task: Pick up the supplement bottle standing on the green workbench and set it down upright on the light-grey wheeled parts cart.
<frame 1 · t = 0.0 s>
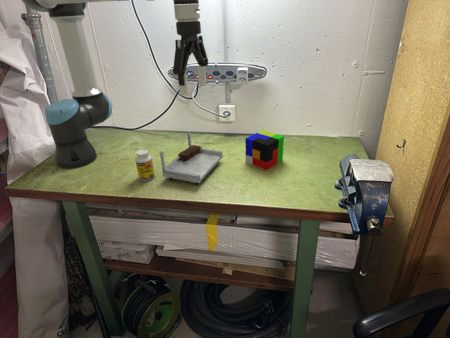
hand: (194, 90, 103), 28 cm above the table, fingers open, 13 cm apart
brick: (191, 160, 117), resting on cart
puzzle toy: (264, 162, 115), on the table
supplement bottle: (147, 178, 108), on the table
cart: (194, 170, 111), on the table
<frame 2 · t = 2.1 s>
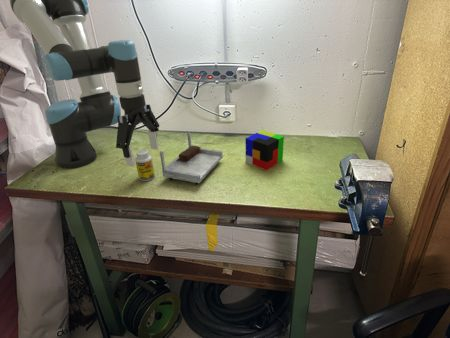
hand: (143, 156, 103), 9 cm above the table, fingers open, 13 cm apart
nothing on the table moved.
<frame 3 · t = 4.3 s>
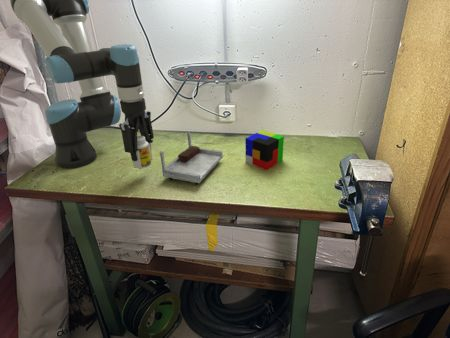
hand: (143, 163, 105), 5 cm above the table, fingers closed on supplement bottle, 6 cm apart
supplement bottle: (143, 165, 106), point 5 cm above the table, touching gripper
everything else where it was.
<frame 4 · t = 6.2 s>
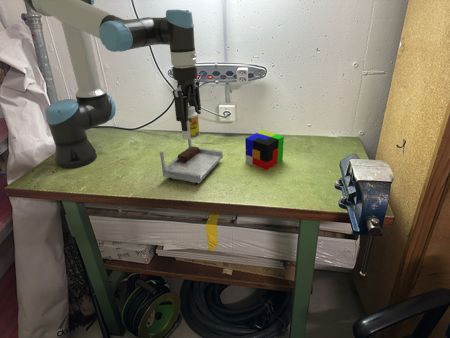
hand: (191, 135, 104), 14 cm above the table, fingers closed on supplement bottle, 6 cm apart
supplement bottle: (191, 136, 104), point 13 cm above the table, touching gripper
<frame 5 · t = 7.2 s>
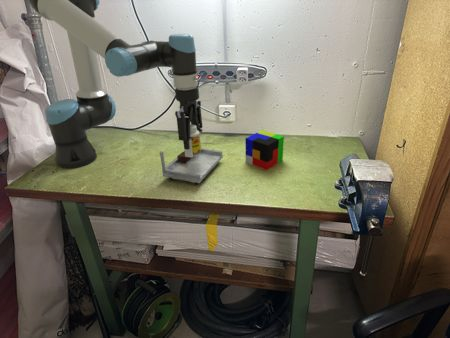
hand: (193, 152, 107), 7 cm above the table, fingers closed on supplement bottle, 6 cm apart
supplement bottle: (193, 154, 107), point 7 cm above the table, touching gripper
when the fingers open (4 cm above the table, at t = 8.1 s): supplement bottle stays where it is, resting on cart.
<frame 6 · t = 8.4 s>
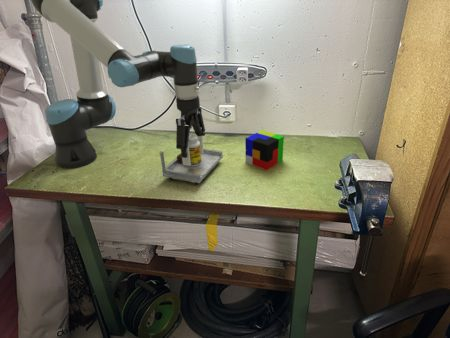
hand: (193, 158, 108), 5 cm above the table, fingers open, 9 cm apart
supplement bottle: (194, 163, 109), point 3 cm above the table, touching cart
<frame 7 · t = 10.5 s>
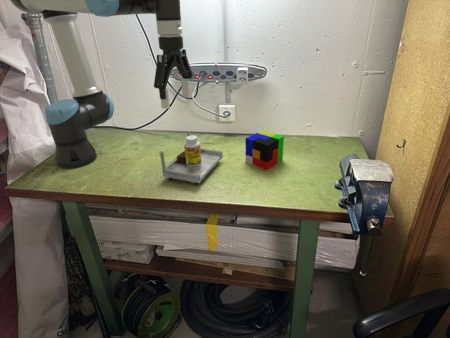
hand: (176, 102, 104), 24 cm above the table, fingers open, 13 cm apart
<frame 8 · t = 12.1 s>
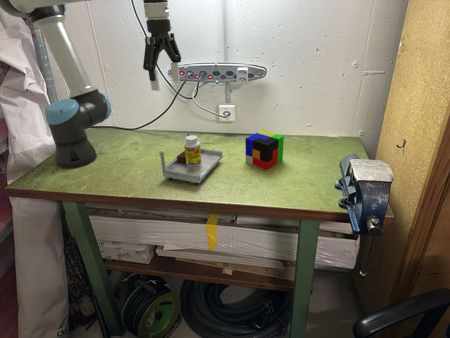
hand: (166, 85, 107), 29 cm above the table, fingers open, 13 cm apart
at the end: supplement bottle inside the target area on the cart (0.2 cm from its centre), point 2.8 cm above the cart's base; supplement bottle tilted 0°; the gripper is holding nothing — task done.
